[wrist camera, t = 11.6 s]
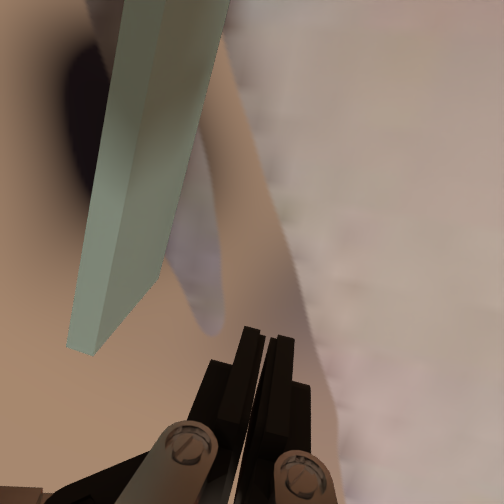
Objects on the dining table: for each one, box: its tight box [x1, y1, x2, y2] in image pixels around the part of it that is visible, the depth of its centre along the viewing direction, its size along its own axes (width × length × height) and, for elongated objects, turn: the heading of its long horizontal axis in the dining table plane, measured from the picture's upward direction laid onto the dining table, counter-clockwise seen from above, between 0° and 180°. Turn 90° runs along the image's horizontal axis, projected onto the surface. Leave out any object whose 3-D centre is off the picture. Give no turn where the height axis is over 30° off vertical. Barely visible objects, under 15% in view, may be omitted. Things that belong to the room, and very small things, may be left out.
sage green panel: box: [66, 0, 230, 356], centre depth 15 cm, size 23×2×8 cm, turn 162°
